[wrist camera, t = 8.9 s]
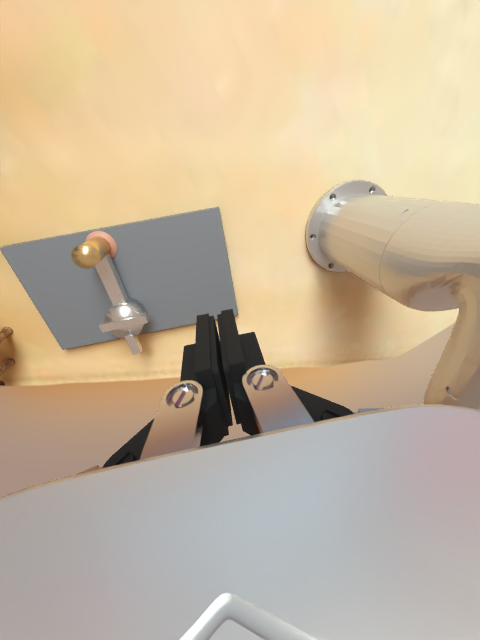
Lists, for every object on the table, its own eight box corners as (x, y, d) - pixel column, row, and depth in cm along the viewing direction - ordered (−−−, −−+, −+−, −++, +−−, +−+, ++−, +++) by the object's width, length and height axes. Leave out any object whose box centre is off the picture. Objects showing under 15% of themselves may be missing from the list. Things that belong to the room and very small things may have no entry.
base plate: (218, 206, 34) (219, 207, 33) (237, 311, 42) (238, 315, 41) (5, 245, 33) (-2, 248, 32) (66, 345, 41) (62, 350, 40)
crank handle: (161, 337, 41) (156, 357, 36) (121, 345, 41) (111, 366, 36) (120, 231, 33) (107, 240, 28) (70, 241, 32) (49, 251, 28)
